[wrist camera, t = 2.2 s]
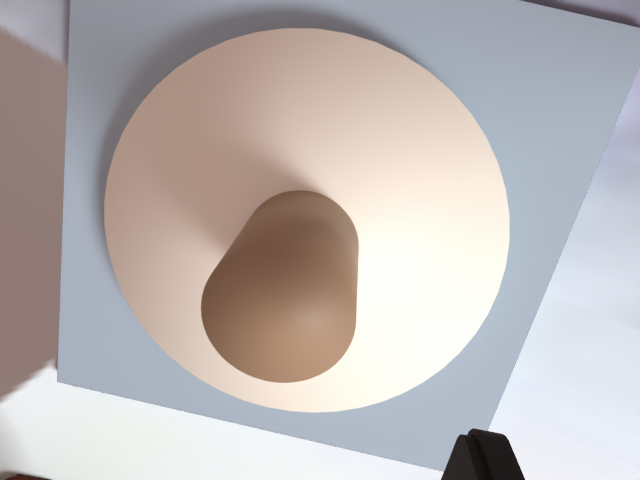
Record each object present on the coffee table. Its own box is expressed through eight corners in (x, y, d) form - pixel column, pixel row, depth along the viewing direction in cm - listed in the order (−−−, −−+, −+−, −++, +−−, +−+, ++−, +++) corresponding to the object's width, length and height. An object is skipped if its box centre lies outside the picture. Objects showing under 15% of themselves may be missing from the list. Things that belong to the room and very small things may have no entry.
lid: (564, 82, 16) (669, 100, 11) (436, 429, 21) (462, 566, 16) (131, -15, 16) (7, -49, 11) (106, 353, 21) (13, 462, 16)
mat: (645, 31, 16) (654, 30, 15) (465, 468, 22) (468, 477, 22) (82, -98, 16) (73, -103, 16) (63, 375, 22) (56, 381, 22)
